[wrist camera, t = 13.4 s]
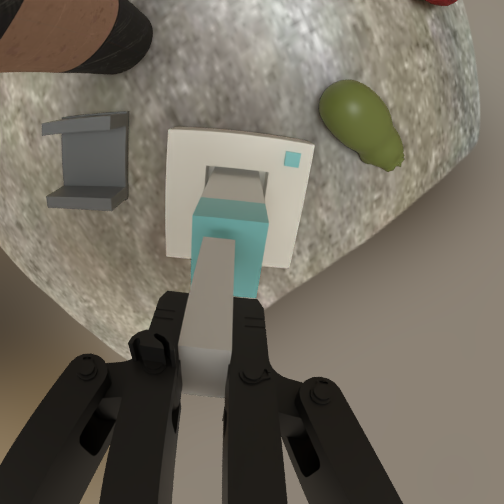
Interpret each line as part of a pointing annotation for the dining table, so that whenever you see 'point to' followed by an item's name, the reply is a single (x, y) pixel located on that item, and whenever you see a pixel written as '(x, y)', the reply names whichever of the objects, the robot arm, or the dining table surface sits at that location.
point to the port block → (241, 157)
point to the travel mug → (72, 36)
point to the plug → (234, 223)
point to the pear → (362, 123)
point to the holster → (92, 161)
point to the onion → (441, 2)
